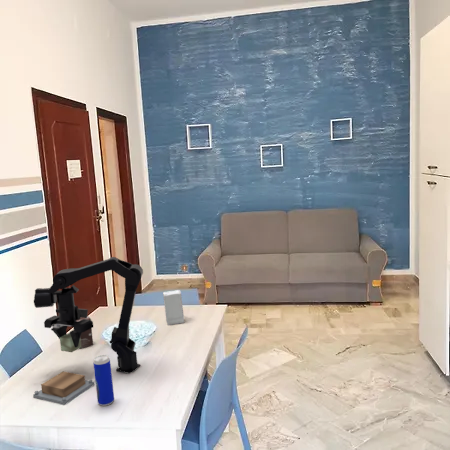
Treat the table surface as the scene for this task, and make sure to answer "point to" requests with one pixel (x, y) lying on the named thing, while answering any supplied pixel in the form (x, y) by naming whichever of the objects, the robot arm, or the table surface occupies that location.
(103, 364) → the beverage can
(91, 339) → the box
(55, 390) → the base brick
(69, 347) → the block
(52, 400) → the baseplate
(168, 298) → the skincare box
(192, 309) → the table surface
